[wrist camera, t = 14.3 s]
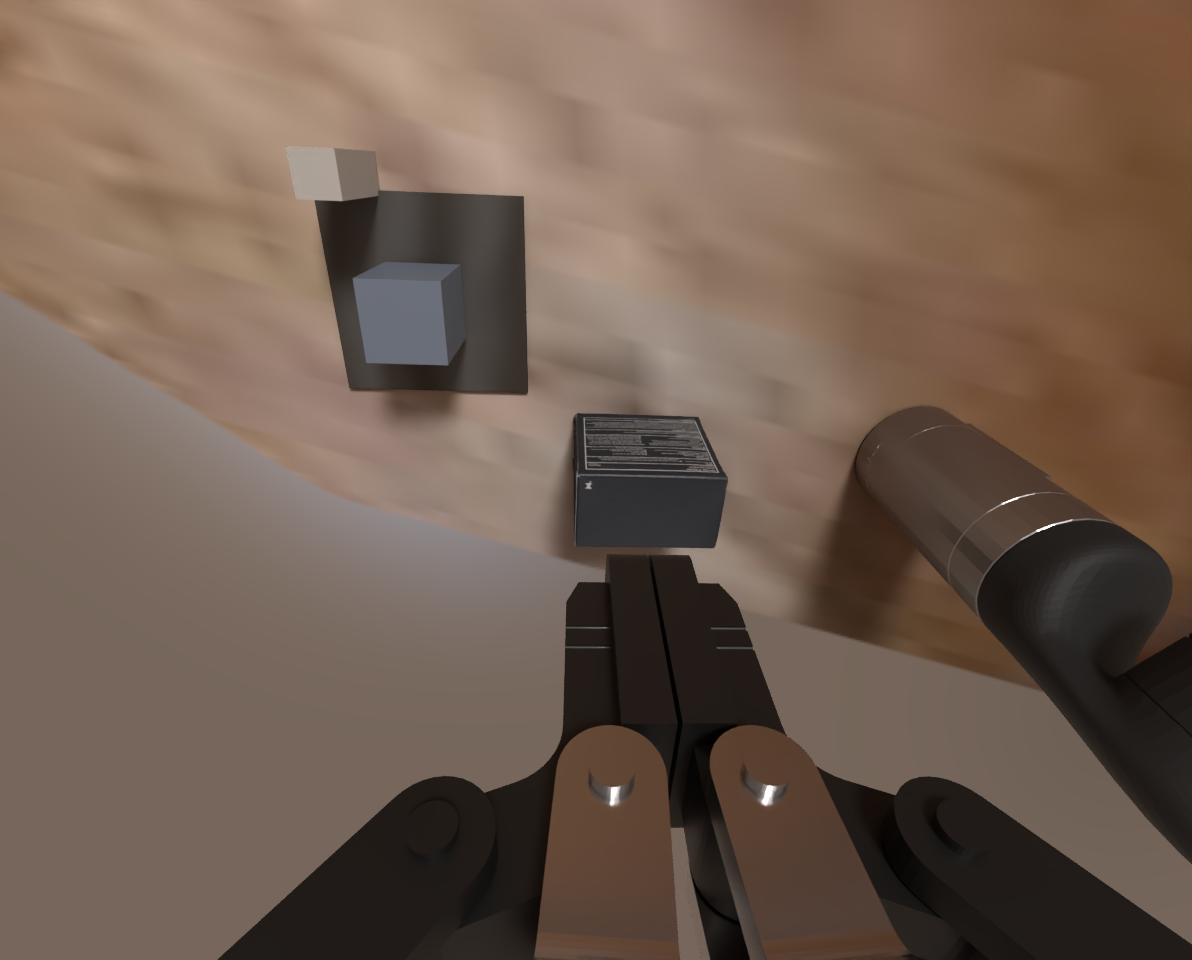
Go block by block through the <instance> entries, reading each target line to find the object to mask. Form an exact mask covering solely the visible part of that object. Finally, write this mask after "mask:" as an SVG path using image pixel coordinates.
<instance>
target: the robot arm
mask: <svg viewBox="0 0 1192 960" xmlns="http://www.w3.org/2000/svg"><path fill="white" fill-rule="evenodd" d="M856 474H857V477H858V480H859V483H860V484H861V485H862V487H863V488H864V490H865V491H866V492H867V493H868V494H869V495H870V496H871V497H872V499H873V500H874V501H875V502H876V503H877V504H878V505H879V506H880V508H881V509H882V510H883V511H884V512H885V513H886V515H887V516H888V517H889V518H890V519H891V520H892V521H893V522H894V524H895V525H896V526H897V527H898V528H899V529H900V530H901V531H902V533H903V534H904V535H905V536H906V537H907V538H908V539H909V540H910V541H911V543H912V544H913V545H914V546H915V547H916V548H917V549H918V550H919V552H920V553H921V554H922V555H923V556H924V557H925V558H926V559H927V561H928V562H929V563H930V564H931V565H932V566H933V567H934V568H935V569H936V571H937V572H938V573H939V574H940V575H941V576H942V577H943V578H944V580H945V581H946V582H947V583H948V584H949V585H950V586H951V587H952V589H953V590H954V591H955V592H956V593H957V594H958V595H959V596H960V597H961V598H962V599H963V601H964V602H965V603H966V604H967V605H968V606H969V607H970V608H971V610H972V611H973V612H974V613H975V614H976V615H977V616H978V617H979V619H980V620H981V621H982V622H983V623H984V625H985V626H986V627H987V628H988V629H989V630H990V631H991V632H992V633H993V634H994V636H995V637H996V638H997V639H998V640H999V641H1000V642H1001V643H1002V644H1003V645H1004V646H1005V648H1006V649H1007V650H1008V651H1009V652H1010V653H1011V654H1012V655H1013V657H1014V658H1015V659H1016V660H1017V661H1018V662H1019V663H1020V665H1021V666H1022V667H1023V668H1024V669H1025V670H1026V671H1027V673H1028V674H1029V675H1030V676H1031V677H1032V678H1033V679H1034V681H1035V682H1036V683H1037V684H1038V685H1039V686H1040V687H1041V688H1042V690H1043V691H1044V692H1045V693H1046V695H1047V696H1048V697H1049V698H1050V699H1051V701H1052V702H1053V703H1054V704H1055V706H1056V707H1057V708H1058V709H1059V710H1060V712H1061V713H1062V714H1063V715H1064V717H1065V718H1066V719H1067V720H1068V722H1069V723H1070V724H1071V725H1072V727H1073V728H1074V729H1075V731H1076V732H1077V733H1078V734H1079V736H1080V737H1081V738H1082V739H1083V741H1084V742H1085V743H1086V745H1087V746H1088V747H1089V748H1090V750H1091V751H1092V752H1093V753H1094V755H1095V756H1096V757H1097V759H1098V760H1099V761H1100V762H1101V764H1102V765H1103V766H1104V767H1105V769H1106V770H1107V771H1108V773H1109V774H1110V775H1111V776H1112V778H1113V779H1114V780H1115V781H1116V782H1117V784H1118V785H1119V786H1120V787H1121V788H1122V790H1123V791H1124V792H1125V793H1126V794H1127V795H1128V797H1129V798H1130V799H1131V800H1132V801H1133V803H1134V804H1135V805H1136V806H1137V807H1138V809H1139V810H1140V811H1141V812H1142V813H1143V814H1144V816H1145V817H1146V818H1147V819H1148V820H1149V821H1150V822H1151V823H1152V824H1153V826H1154V827H1155V828H1156V829H1157V830H1158V831H1159V832H1160V833H1161V834H1162V835H1163V836H1164V837H1165V838H1166V839H1167V840H1168V841H1169V842H1170V843H1171V844H1172V845H1173V846H1174V847H1175V848H1176V849H1177V851H1178V852H1179V853H1180V854H1181V855H1183V856H1184V857H1185V858H1186V859H1187V860H1188V861H1189V862H1190V863H1191V864H1192V633H1191V634H1189V637H1190V638H1189V637H1183V638H1182V639H1180V640H1178V641H1177V642H1175V643H1173V644H1171V645H1170V646H1168V647H1166V648H1165V649H1163V650H1161V651H1160V652H1158V653H1156V654H1155V655H1153V656H1151V657H1150V658H1148V659H1146V660H1144V661H1143V662H1141V663H1139V664H1138V665H1136V666H1135V663H1136V660H1137V658H1138V656H1139V653H1140V651H1141V650H1142V648H1143V646H1144V644H1145V643H1146V641H1147V640H1148V638H1149V637H1150V635H1151V634H1152V633H1153V631H1154V630H1155V628H1156V627H1157V625H1158V624H1159V622H1160V621H1161V619H1162V618H1163V616H1164V614H1165V612H1166V610H1167V608H1168V605H1169V602H1170V599H1171V595H1172V576H1171V573H1170V570H1169V567H1168V565H1167V564H1166V562H1165V561H1164V560H1163V559H1162V557H1161V556H1160V555H1159V554H1158V553H1157V552H1156V551H1155V550H1154V549H1153V548H1151V547H1150V546H1149V545H1148V544H1146V543H1145V542H1143V541H1142V540H1140V539H1139V538H1137V537H1136V536H1134V535H1133V534H1131V533H1130V532H1128V531H1127V530H1125V529H1124V528H1122V527H1120V526H1119V525H1117V524H1116V523H1114V522H1113V521H1111V520H1110V519H1108V518H1107V517H1105V516H1104V515H1102V514H1101V513H1099V512H1098V511H1096V510H1095V509H1093V508H1091V507H1090V506H1088V505H1087V504H1085V503H1084V502H1082V501H1081V500H1079V499H1078V498H1076V497H1074V496H1073V495H1071V494H1070V493H1068V492H1067V491H1065V490H1064V489H1062V488H1061V487H1059V486H1058V485H1056V484H1055V483H1053V482H1052V479H1051V477H1050V476H1049V475H1048V474H1046V473H1045V472H1043V471H1042V470H1040V469H1038V468H1037V467H1035V466H1034V465H1032V464H1031V463H1029V462H1028V461H1026V460H1025V459H1023V458H1022V457H1020V456H1019V455H1017V454H1016V453H1014V452H1013V451H1011V450H1009V449H1008V448H1006V447H1005V446H1003V445H1002V444H1000V443H999V442H997V441H996V440H994V439H993V438H991V437H990V436H988V435H987V434H985V433H984V432H982V431H980V430H979V429H977V428H976V427H974V426H973V425H971V424H965V423H964V422H962V421H961V420H959V419H957V418H956V417H954V416H953V415H951V414H950V413H948V412H946V411H944V410H943V409H939V408H935V407H924V406H921V407H914V408H909V409H906V410H903V411H900V412H897V413H895V414H894V415H892V416H890V417H888V418H886V419H885V420H884V421H882V422H881V423H880V424H878V425H877V426H876V427H875V428H874V429H873V430H872V431H871V432H870V433H869V434H868V436H867V437H866V439H865V440H864V442H863V443H862V445H861V447H860V450H859V452H858V455H857V460H856ZM745 627H746V626H745V624H744V621H743V618H742V615H741V612H740V610H739V607H738V604H737V603H736V602H735V600H734V599H733V598H732V597H731V596H730V595H729V594H728V593H727V592H726V591H725V590H724V589H723V588H722V587H721V586H720V585H719V584H709V583H698V581H697V578H696V574H695V571H694V567H693V564H692V561H691V558H690V556H689V555H649V556H648V557H647V555H612V554H607V559H606V574H605V583H600V582H599V583H598V582H597V583H596V582H579V583H578V584H577V586H576V587H575V589H574V591H573V592H572V594H571V596H570V597H569V599H568V600H567V603H566V639H565V678H564V716H563V733H562V737H561V740H560V743H559V745H558V747H557V749H556V751H555V753H554V754H553V755H552V757H551V758H550V760H549V761H548V762H547V763H546V764H545V765H544V766H543V767H542V768H541V769H539V770H538V771H537V772H535V773H534V774H532V775H530V776H529V777H527V778H525V779H522V780H520V781H518V782H515V783H512V784H509V785H506V786H503V787H501V788H498V789H494V790H492V791H489V792H486V793H484V792H483V791H482V790H481V789H480V788H479V787H477V786H476V785H474V784H473V783H471V782H469V781H467V780H465V779H462V778H457V777H450V776H442V777H433V778H430V779H426V780H423V781H420V782H418V783H416V784H414V785H412V786H410V787H408V788H407V789H405V790H404V791H402V792H401V793H400V794H399V795H397V796H396V797H395V798H394V799H393V800H392V801H391V802H389V803H388V804H387V805H386V806H385V807H384V808H383V809H382V810H381V811H379V812H378V813H377V814H376V815H375V816H374V817H373V818H372V819H371V820H370V821H369V822H368V823H366V824H365V825H364V826H363V827H362V828H361V829H360V830H359V831H358V832H357V833H355V834H354V835H353V836H352V837H351V838H350V839H349V840H348V841H347V842H346V843H344V844H343V845H342V846H341V847H340V848H339V849H338V850H337V851H336V852H335V853H334V854H333V855H331V856H330V857H329V858H328V859H327V860H326V861H325V862H324V863H323V864H321V866H319V867H318V868H317V869H316V870H315V871H314V872H313V873H312V874H311V875H309V876H308V878H306V879H305V880H304V881H303V882H302V883H301V884H300V885H299V886H298V887H296V888H295V889H294V890H293V891H292V892H291V893H290V894H289V895H288V896H286V898H285V899H283V900H282V901H281V902H280V903H279V904H278V905H277V906H276V907H274V909H272V910H271V911H270V912H269V913H268V914H267V915H266V916H265V917H264V918H262V919H261V921H259V922H258V923H257V924H256V925H255V926H254V927H253V928H252V929H250V931H248V932H247V933H246V934H245V935H244V936H243V937H242V938H241V939H240V940H238V941H237V942H236V943H235V944H234V945H233V946H232V947H231V948H230V949H229V950H227V951H226V952H225V953H224V954H223V955H222V956H221V957H220V958H219V959H218V960H680V955H679V944H678V930H677V914H676V900H675V885H674V870H673V855H672V841H671V827H672V828H676V827H677V828H678V827H679V828H680V827H684V832H685V838H686V844H687V850H688V862H687V867H686V872H685V885H686V892H687V897H688V902H689V906H690V911H691V916H692V920H693V925H694V929H695V934H696V939H697V943H698V948H699V953H700V957H701V960H1192V944H1190V943H1189V942H1187V941H1186V940H1185V939H1183V938H1182V937H1180V936H1179V935H1177V934H1176V933H1175V932H1173V931H1172V930H1170V929H1169V928H1167V927H1166V926H1165V925H1163V924H1162V923H1160V922H1159V921H1158V920H1156V919H1155V918H1153V917H1152V916H1151V915H1149V914H1148V913H1146V912H1145V911H1143V910H1142V909H1141V908H1139V907H1138V906H1136V905H1135V904H1133V903H1132V902H1131V901H1129V900H1128V899H1126V898H1125V897H1124V896H1122V895H1121V894H1119V893H1118V892H1116V891H1115V890H1114V889H1112V888H1111V887H1109V886H1108V885H1106V884H1105V883H1104V882H1102V881H1101V880H1099V879H1098V878H1097V877H1095V876H1093V875H1092V874H1091V873H1089V872H1088V871H1087V870H1085V869H1084V868H1082V867H1081V866H1079V865H1078V864H1077V863H1075V862H1074V861H1072V860H1071V859H1070V858H1068V857H1066V856H1065V855H1064V854H1062V853H1061V852H1059V851H1058V850H1057V849H1055V848H1054V847H1052V846H1051V845H1050V844H1048V843H1047V842H1045V841H1044V840H1042V839H1041V838H1040V837H1038V836H1037V835H1035V834H1034V833H1032V832H1031V831H1030V830H1028V829H1027V828H1025V827H1024V826H1022V825H1021V824H1020V823H1018V822H1017V821H1015V820H1014V819H1013V818H1011V817H1010V816H1008V815H1007V814H1006V813H1004V812H1003V811H1001V810H1000V809H998V808H997V807H996V806H994V805H993V804H991V803H990V802H988V801H987V800H986V799H984V798H983V797H981V796H980V795H978V794H977V793H975V792H973V791H972V790H970V789H968V788H966V787H964V786H962V785H960V784H958V783H955V782H952V781H950V780H946V779H942V778H938V777H918V778H915V779H911V780H909V781H908V782H906V783H905V784H904V785H902V786H901V788H900V789H899V791H898V792H897V794H896V795H892V794H889V793H886V792H882V791H879V790H876V789H873V788H869V787H866V786H863V785H860V784H856V783H853V782H850V781H846V780H843V779H841V778H838V777H835V776H833V775H831V774H829V773H827V772H825V771H823V770H822V769H820V768H819V767H817V766H816V765H815V764H814V762H813V760H812V759H811V758H810V756H809V755H808V754H807V752H805V750H804V749H803V748H802V747H801V746H800V745H799V744H797V743H796V742H794V741H793V740H792V739H791V738H789V737H787V735H786V734H785V732H784V729H783V727H782V725H781V722H780V719H779V717H778V714H777V711H776V709H775V705H774V703H773V700H772V697H771V695H770V692H769V689H768V686H767V684H766V681H765V678H764V676H763V673H762V670H761V667H760V665H759V662H758V659H757V657H756V653H755V651H753V648H752V646H753V645H752V643H751V640H750V637H749V634H748V632H747V631H746V629H745Z"/></svg>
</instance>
